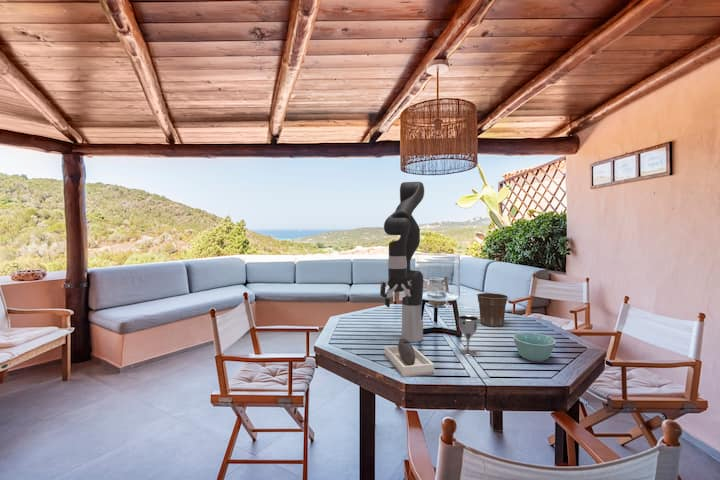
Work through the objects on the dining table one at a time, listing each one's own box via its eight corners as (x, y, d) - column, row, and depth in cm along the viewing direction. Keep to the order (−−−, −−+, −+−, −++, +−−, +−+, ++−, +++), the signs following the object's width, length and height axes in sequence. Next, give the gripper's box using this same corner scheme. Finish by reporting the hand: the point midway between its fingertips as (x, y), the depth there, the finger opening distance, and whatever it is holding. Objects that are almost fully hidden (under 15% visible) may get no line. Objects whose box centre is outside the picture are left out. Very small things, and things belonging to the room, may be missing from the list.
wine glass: (467, 356, 145) (468, 321, 144) (454, 350, 152) (454, 316, 151) (481, 353, 148) (482, 318, 148) (468, 348, 156) (468, 314, 155)
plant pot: (474, 319, 204) (474, 292, 204) (502, 320, 202) (503, 293, 201) (479, 327, 188) (480, 297, 187) (511, 328, 186) (511, 298, 185)
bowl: (554, 368, 133) (554, 347, 133) (510, 360, 141) (510, 340, 141) (556, 355, 146) (556, 336, 146) (515, 348, 155) (516, 330, 155)
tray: (411, 352, 149) (411, 344, 149) (434, 373, 128) (434, 364, 128) (384, 355, 146) (384, 347, 146) (403, 377, 125) (403, 367, 125)
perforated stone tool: (418, 368, 130) (418, 350, 130) (404, 369, 129) (404, 350, 129) (409, 354, 145) (409, 337, 145) (397, 354, 144) (397, 338, 144)
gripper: (410, 265, 148) (410, 302, 149) (378, 266, 144) (378, 305, 145) (417, 267, 141) (417, 306, 141) (383, 268, 137) (384, 309, 138)
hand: (397, 306), depth 143 cm, fingers open, 8 cm apart
